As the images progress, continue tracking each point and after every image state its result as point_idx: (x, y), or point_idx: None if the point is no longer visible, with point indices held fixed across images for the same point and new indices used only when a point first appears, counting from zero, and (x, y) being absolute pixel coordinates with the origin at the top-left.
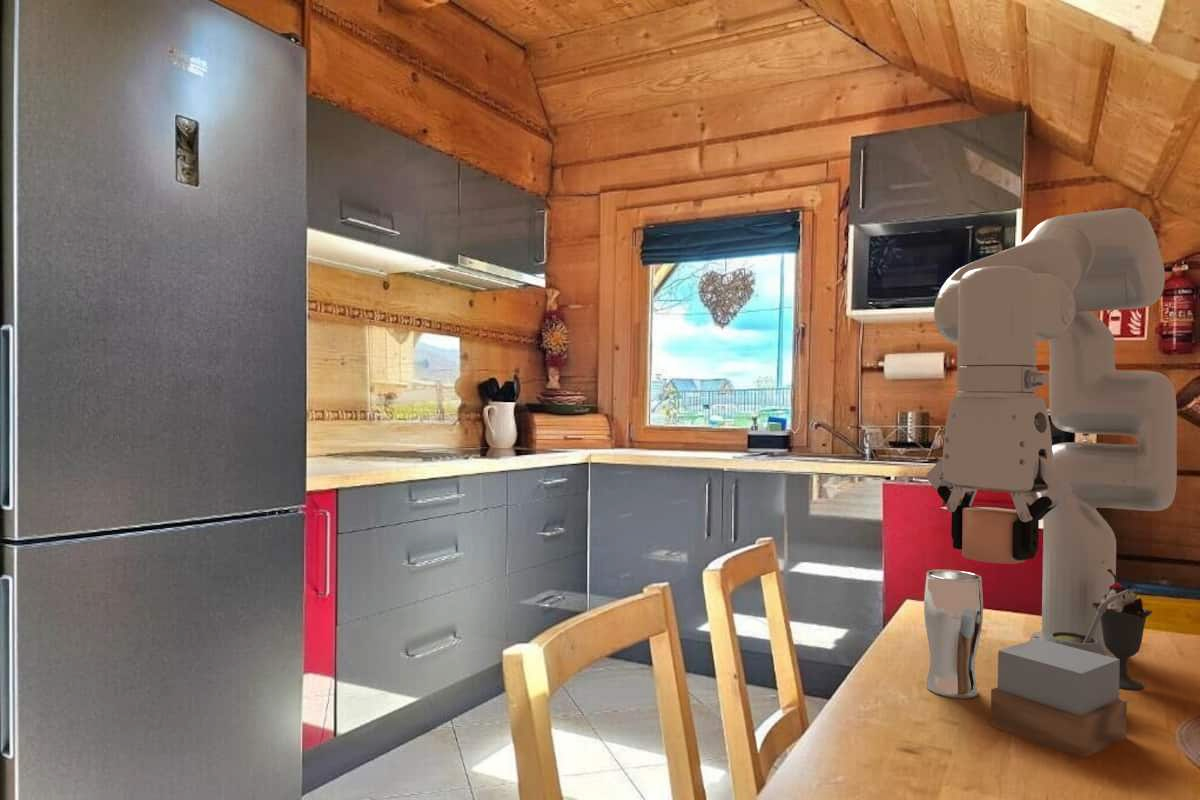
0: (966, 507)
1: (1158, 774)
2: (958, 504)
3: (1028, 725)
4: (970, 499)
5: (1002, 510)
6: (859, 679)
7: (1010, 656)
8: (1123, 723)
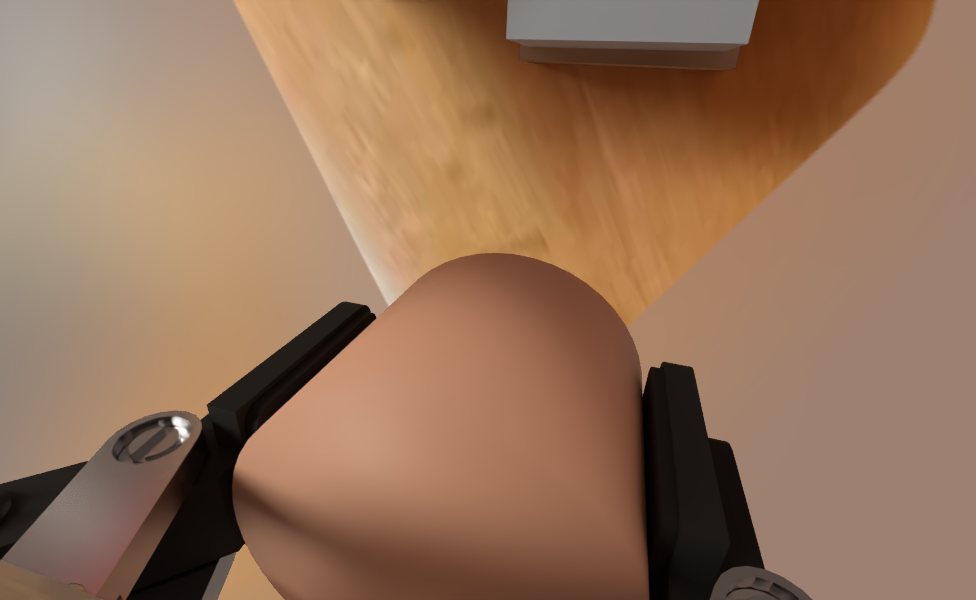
0: (230, 514)
1: (869, 9)
2: (220, 588)
3: (609, 65)
4: (164, 521)
5: (438, 525)
6: (271, 59)
7: (541, 40)
8: None
